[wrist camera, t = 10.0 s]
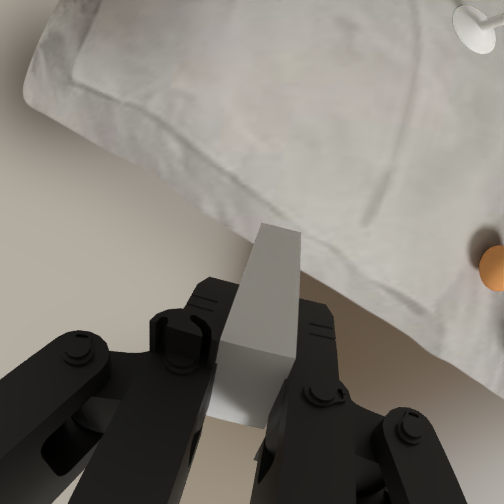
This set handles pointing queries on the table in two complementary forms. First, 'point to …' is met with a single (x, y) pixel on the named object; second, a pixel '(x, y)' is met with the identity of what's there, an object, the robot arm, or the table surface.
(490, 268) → the ball
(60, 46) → the table surface
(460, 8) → the champagne flute
